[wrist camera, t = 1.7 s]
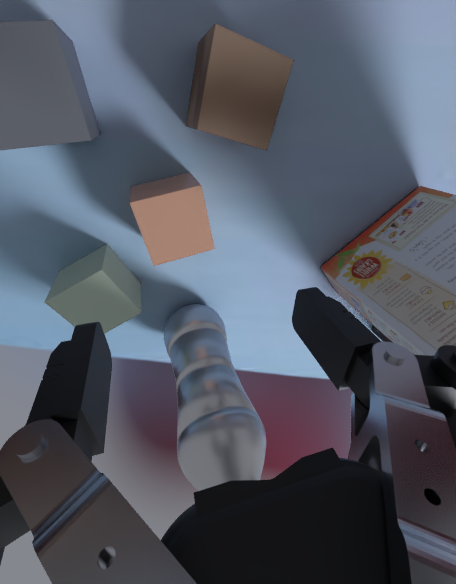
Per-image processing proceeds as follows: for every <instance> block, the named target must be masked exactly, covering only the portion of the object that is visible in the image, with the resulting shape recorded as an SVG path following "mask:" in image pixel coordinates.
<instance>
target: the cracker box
mask: <svg viewBox="0 0 456 584" xmlns="http://www.w3.org/2000/svg"><path fill="white" fill-rule="evenodd" d="M321 269H322V271H323V272H324V274H325V275H326V277H327V278H328V280H329V281H330V283H331V284H332V286H333V288H334V289H335V291H336V292H337V293H338V294H339V295H340V296H341V297H342V298H344V299H345V300H346V301H347V302H348V303H349V304H350V305H352V306H353V307H354V308H355V309H356V310H357V311H358V312H359V313H360V314H361V315H363V316H364V317H365V318H366V319H367V320H368V321H369V322H370V323H372V324H373V325H374V326H375V327H376V328H377V329H378V330H379V331H381V332H382V333H383V334H384V335H385V336H386V337H387V338H389V339H390V340H391V341H392V342H393V343H396V344H398V345H401V346H403V347H405V348H406V349H408V350H409V351H410V352H411V353H412V354H413V355H429V356H434V355H435V353H436V352H437V350H438V348H439V347H441V346H444V345H453V346H456V195H453V194H449V193H445V192H442V191H438V190H434V189H430V188H426V187H422V186H420V187H418V188H417V189H415V190H414V191H413V192H412V193H411V194H409V195H408V196H407V197H406V198H405V199H403V200H402V201H401V202H400V203H398V204H397V205H396V206H395V207H393V208H392V209H391V210H390V211H389V212H387V213H386V214H385V215H384V216H382V217H381V218H380V219H379V220H378V221H376V222H375V223H374V224H373V225H371V226H370V227H369V228H368V229H367V230H365V231H364V232H363V233H362V234H360V235H359V236H358V237H357V238H355V239H354V240H353V241H352V242H351V243H349V244H348V245H347V246H346V247H344V248H343V249H342V250H341V251H339V252H338V253H337V254H336V255H335V256H333V257H332V258H331V259H330V260H328V261H327V262H326V263H325V264H323V265H322V266H321Z"/></svg>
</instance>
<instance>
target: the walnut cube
mask: <svg viewBox="0 0 456 584" xmlns="http://www.w3.org/2000/svg"><path fill="white" fill-rule="evenodd" d="M293 61H294V60H293V59H291V58H288V57H286V56H284V55H282V54H280V53H278V52H276V51H273V50H271V49H269V48H267V47H265V46H263V45H261V44H258V43H256V42H254V41H252V40H250V39H248V38H246V37H243V36H241V35H239V34H237V33H235V32H233V31H231V30H228V29H226V28H224V27H222V26H220V25H218V24H215V25H214V26H213V27H212V28H211V29H210V30H209V31H208V33H207V34H206V35H205V36H204V37H203V38H202V39H201V40H200V41H199V42H198V49H197V55H196V62H195V68H194V74H193V81H192V87H191V94H190V100H189V107H188V113H187V119H186V126H188V127H191V128H194V129H197V130H201V131H204V132H207V133H211V134H214V135H217V136H221V137H224V138H227V139H230V140H234V141H237V142H240V143H244V144H247V145H250V146H254V147H257V148H260V149H263V150H267V149H268V145H269V142H270V139H271V135H272V132H273V129H274V125H275V122H276V118H277V115H278V112H279V108H280V105H281V102H282V98H283V95H284V91H285V88H286V85H287V81H288V78H289V75H290V71H291V68H292V65H293Z"/></svg>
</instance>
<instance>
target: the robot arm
mask: <svg viewBox="0 0 456 584" xmlns="http://www.w3.org/2000/svg"><path fill="white" fill-rule="evenodd" d="M292 323H293V327H294V329H295V331H296V333H297V334H298V335H299V337H300V338H301V340H302V341H303V342H304V344H305V345H306V346H307V348H308V349H309V351H310V352H311V353H312V355H313V356H314V358H315V359H316V360H317V362H318V363H319V364H320V366H321V367H322V369H323V370H324V371H325V373H326V374H327V376H328V377H329V378H330V380H331V381H332V382H333V384H334V385H335V387H336V388H337V389H338V390H339V391H340V390H343V389H347V388H351V390H352V391H353V394H352V396H351V443H350V449H349V453H348V458H347V459H345V458H339V457H338V456H337V454H336V452H335V450H334V449H333V448H330V449H327V450H324V451H321V452H318V453H315V454H312V455H308V456H305V457H303V458H301V459H300V460H298V461H297V462H295V463H294V464H293V465H291V466H290V467H289V468H287V469H286V470H285V471H283V472H282V473H281V474H279V475H278V476H276V477H275V478H273V479H271V480H231V481H228V482H225V483H222V484H219V485H216V486H213V487H210V488H207V489H204V490H200V491H197V492H194V499H195V504H194V505H192V506H191V507H190V508H188V509H187V510H186V511H185V512H183V513H182V514H181V515H180V516H179V517H178V518H177V519H176V520H175V522H174V523H173V524H172V525H171V526H170V528H169V529H168V530H167V532H166V533H165V534H164V536H163V537H162V539H161V541H160V540H159V538H158V537H157V536H156V535H155V533H154V532H153V531H152V530H151V529H150V528H149V526H148V525H147V524H146V523H145V522H144V520H143V519H142V518H141V517H140V516H139V515H138V513H137V512H136V511H135V510H134V509H133V507H132V506H131V505H130V504H129V503H128V501H127V500H126V499H125V498H124V497H123V496H122V494H121V493H120V492H119V491H118V489H117V488H116V487H115V486H114V485H113V484H112V482H111V481H110V480H109V479H108V478H107V477H106V476H105V475H104V474H103V473H100V472H99V471H98V469H97V468H96V467H95V466H94V465H93V463H92V462H91V460H92V456H94V455H97V454H101V453H104V444H105V433H106V423H107V412H108V402H109V391H110V380H111V371H112V359H111V353H110V349H109V346H108V343H107V340H106V338H105V335H104V332H103V329H102V326H101V324H100V322H92V323H86V324H80V325H76V326H75V328H74V332H73V335H72V339H71V340H70V341H64V342H61V343H60V344H59V345H58V346H57V348H56V349H55V350H54V351H53V352H52V353H51V355H50V358H49V361H48V364H47V366H46V367H47V369H46V370H45V372H44V375H43V380H42V381H41V383H40V386H39V389H38V392H37V395H36V398H35V401H34V403H33V406H32V409H31V412H30V415H29V418H28V420H27V423H26V425H25V426H24V427H23V428H21V429H19V430H18V431H17V432H16V433H14V434H13V435H12V436H11V437H10V438H9V439H8V440H7V441H6V443H5V444H4V445H3V447H2V449H1V450H0V564H1V560H2V556H3V552H4V548H5V546H7V545H8V544H10V543H11V542H13V541H14V540H16V539H17V538H19V537H20V536H22V535H24V534H25V533H27V532H28V531H30V530H31V531H32V534H33V536H34V540H33V547H34V550H35V552H36V554H37V556H38V558H39V560H40V562H41V564H42V565H43V567H44V569H45V571H46V573H47V575H48V577H49V578H50V581H51V582H52V584H456V346H453V345H444V346H441V347H439V348H438V350H437V352H436V353H435V355H434V356H429V355H413V354H412V353H411V352H410V351H409V350H408V349H406V348H405V347H403V346H401V345H398V344H396V343H392V342H381V341H380V340H379V339H378V338H377V337H376V336H375V335H374V334H373V333H372V332H371V331H370V330H369V329H368V328H366V327H365V326H364V325H363V324H362V323H361V322H360V321H359V320H358V319H357V318H355V316H354V315H353V314H352V313H351V312H348V310H347V309H346V308H345V307H344V306H343V305H342V304H341V303H340V302H338V301H336V300H334V299H332V298H330V297H326V296H325V295H324V294H323V293H322V292H321V291H320V290H319V289H318V288H316V287H313V288H307V289H301V290H298V292H297V294H296V299H295V304H294V310H293V315H292Z"/></svg>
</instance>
